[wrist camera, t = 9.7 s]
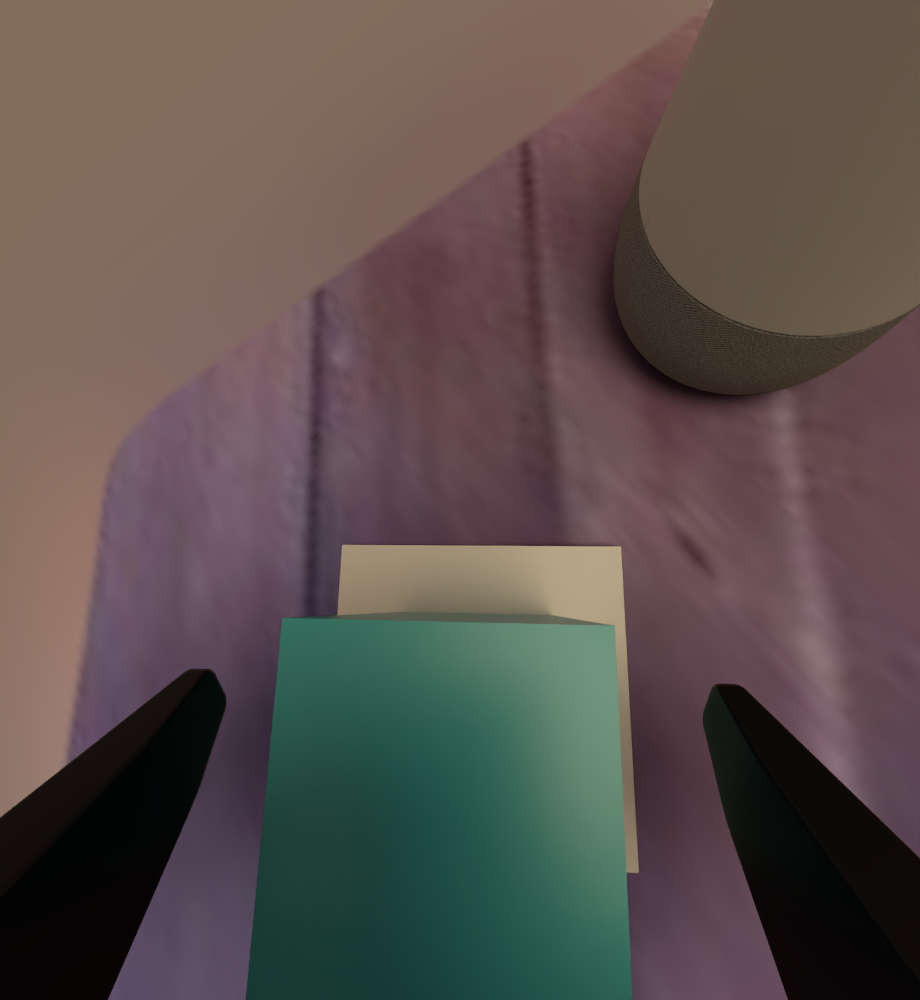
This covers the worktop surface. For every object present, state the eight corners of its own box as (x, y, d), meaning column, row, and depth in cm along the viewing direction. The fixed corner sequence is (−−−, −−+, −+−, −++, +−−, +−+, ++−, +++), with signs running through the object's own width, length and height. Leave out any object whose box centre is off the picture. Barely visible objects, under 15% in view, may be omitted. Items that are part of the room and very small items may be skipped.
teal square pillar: (555, 781, 16) (634, 1045, 6) (395, 773, 16) (244, 1007, 7) (552, 614, 17) (614, 625, 7) (403, 611, 17) (282, 617, 8)
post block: (632, 859, 16) (690, 974, 11) (329, 840, 16) (256, 939, 12) (615, 549, 18) (658, 527, 13) (349, 547, 19) (294, 526, 14)
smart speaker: (782, 461, 18) (1669, -3, 4) (557, 357, 20) (682, -215, 6) (877, 260, 19) (1778, -574, 6) (660, 178, 21) (953, -617, 7)
